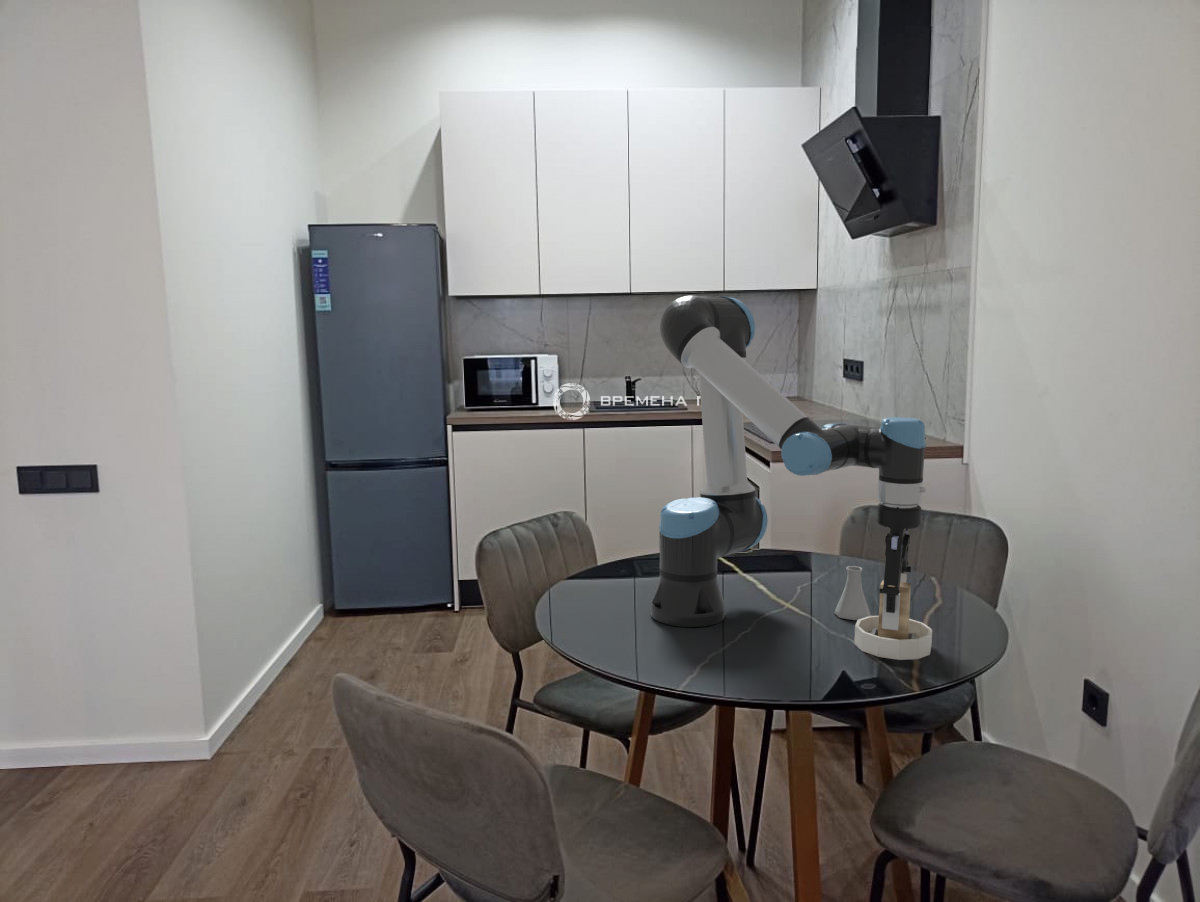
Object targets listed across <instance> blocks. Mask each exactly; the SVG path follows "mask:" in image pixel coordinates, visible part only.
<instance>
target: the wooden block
mask: <svg viewBox="0 0 1200 902" xmlns="http://www.w3.org/2000/svg"><path fill="white" fill-rule="evenodd" d="M883 585H884V579H883V580H882V581H880V588H883ZM888 587H895V586H890V585H889V586H888ZM880 588H879V589H880ZM911 589H912V583H908V582H906V583H902V582H900V587H899V591H900V593H899V594H900V605H899V625H898V630H891V629H883V628H882V615H883V593H879V605H878V606H879V608H878V616H879V624H878V636H879V637H884V638H891V639H898V640H904V639H908V631H909V619H910V613H911V612H910V608H911V607H910V606H911V593H912V592H911Z"/></svg>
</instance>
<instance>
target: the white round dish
mask: <svg viewBox="0 0 1200 902" xmlns="http://www.w3.org/2000/svg"><path fill="white" fill-rule="evenodd" d="M878 624H879V615H871V616H868V617H865V618H862V619H859V620H856V623H855V625H854V641H853V642H854V643H853V644H854V645H855V646H856V647H857V648H858V649H859V650H860V651H861V652H863V653H867V654H868V655H869V654H870V655H872V656H876V657H878V658H885V659H890V660H891V659H892V660H897V661H903V660H905V661H906V660H920V659H922V658H925V657H927V656H930V655H931V651H932V644H933V643H932V642H933V639H932V638H933V628H931V627H930V626H928V625H926V624H925V623H924V622H922V621H918V620H915V619H912V618H909V631H908V639H904V640H898V639H891V638H884V637H879V636H878Z"/></svg>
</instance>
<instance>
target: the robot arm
mask: <svg viewBox="0 0 1200 902" xmlns="http://www.w3.org/2000/svg"><path fill="white" fill-rule="evenodd" d="M659 323H660V324H659V332H660V337H661V340H662V342H663V344H664V346H665V347H666V349H667V350H668V351H669V352H670V354H671V356H673V357H674V358H675V359H676V360H677V361H678V362H679V363H680V364H681V365H683V366H684V367H685V368H686V369H692V368H693V369H694V370H695V371H697V373H698V377H699V379H698V380H699V391H700V394H699V395H700V405H701V408H700V409H701V420H702V423H701V424H702V435H703V449H704V463H705V477H706V483H705V485H704V486H703V487H702V488H701V490H700V492H699V496H700V497H699V496H697V497H688V498H679V499H675V500H672V501H670V502H668V503H666V504H665V505H664V506H663V507H662V509H661V510H660V519H659V524H658V530H659V578H658V581H657V584H656V588H655V590H654V593H653V596H652V598H651V601H650V616H651V617H652V619H654V620H655V621H656V622H659V623H662V624H665V625H670V626H673V627H683V628H699V627H708V626H713V625H716V624H719V623H721V622H722V621H723V620H724V619H725V617H726V604H725V601H724V598H723V594H722V591H721V588H720V585H719V582H718V559H720V558H723V557H726V556H730V555H733V554H735V553H742V552H745V551H747V550H748V549H750V548H752V547H754V546H757V544H759V542H760V541H761V540H762V539H763V538H764V537H765V534H766V533H767V529H768V521H769V520H768V512H767V509H766V507H765V505H764V504H762V501H761V500H760V499H759V498H758V497H757V496H756V487H755V486H753V485H752V484H751V483H750V482H749V481H748V473H747V459H746V457H747V456H746V444H745V443H746V442H745V440H746V439H745V429H744V416H745V417H746V418H747V419H748V420H749V421H750V422H751V423H752V424H753V425H754V426H755V427H756V428H757V429H759V430H760V432H762V433H763V434H764V435H765V436H766V437H767V438H768V439H770V441H771V442H773V443H774V444H775V445H776V447H778V448H779V449H780V451H781V460H782V461H783V464H784V467H785V468H786V469H787V470H788V471H789V472H790V473H792V474H794V475H797V476H801V477H802V476H817V475H820V474H823V473H825V472H830V471H834V470H839V469H843V468H847V467H861V468H862V467H863V468H871V469H878V480H877V481H878V482H877V483H878V484H877V486H878V487H877V501H879V503H878V504H877V513H876V521H877V524H878V525H880V526H882V527H884V528H886V527H887V528H889V529H890V531H889V532H887V533H886V535H885V539H884V540H885V541H884V543H885V552H884V553H885V554H884V556H885V565H884V573H883V574H884V575H883V576H884V577H883V580H884V585H883V588H879V592H878V593H879V594H880V593H883V615H882V628H883V629H891V630H898V625H899V605H900V594H899V593H900V591H899V587H900V582H902V583H907V579H908V578H907V577H908V576H907V575H908V573H912V572H911V571H912V567H911V566H908V565H909V560H908V558H909V547H910V542H911V534H909V530H912V529H916V528H919V527H920V526H921V523H922V510H923V509H922V507H921V505H920V504H921V503H922V501H923V500H922V499H923V493H926V491H927V488H926V487H925V486H923V482H924V481H923V480H924V468H925V467H924V463H925V451H926V445H927V443H926V425H925V423H924V421H922V420H921V419H919V418H914V417H898V416H897V417H896V416H895V417H885V418H883V419H882V420H881V424H880V426H879V427H877V426H863V425H856V424H855V425H854V424H847V423H827V424H825V425H823V426H822V428H821V427H820V426H819V425H817V424H816V423H815V422H814V421H813V420H812V419H811V418H809V416H807V415H806V414H805V413H804V412H803V411H802V410H800V409H799V407H797V406H796V405H795V404H794V403H793V402H792V401H791V400H790V399H789V398H788V397H786V396H785V395H784V394H783V393H782V392H780V390H779V389H777V388H776V387H775V386H774V385H773V384H771V382H769V381H768V380H767V379H766V378H765V377H764V376H763V375H762V374H760V372H758V371H757V370H756V369H755V368H753V366H751V365H750V364H749V363H748V362H747V361H746V360H747V359H748V358H747V348H748V347H749V346H750V345H751V342H752V341H753V340H754V338H755V333H756V323H755V318H754V315H753V313H752V311H751V310H750V308H749V306H747V305H746V304H745V303H744V302H743V301H741V300H740V299H738V298H735V297H729V296H724V295H717V296H716V295H714V296H713V295H711V296H710V295H685V296H681V297H678V298H676V299H675V300H673V301H671V302H670V303H669V305H667V307H666V308H665V310H664V311H663V313H662V315H661V318H660V322H659ZM889 585H890V586H895V587H888V586H889Z"/></svg>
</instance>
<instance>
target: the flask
mask: <svg viewBox="0 0 1200 902" xmlns="http://www.w3.org/2000/svg"><path fill="white" fill-rule="evenodd" d="M845 569H846V571H847V577H846V581H845V586H844V589H843V591H842V594H841V596H840V598H839V600H838V602H837V606H836V607H835V609H834V615H836V616H837V617H838V618H840V619H845V620H852V621H857V620H859V619H862V618H865V617H868V616H872V614H871V611H870V608H869V605H868V602H867V599H866V596H865V593H864V589H863V586H862V585H863V584H862V572H863V568H862V567H861V566H856V565H852V566H851V565H850V566H849V565H848V566H846V567H845Z"/></svg>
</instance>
